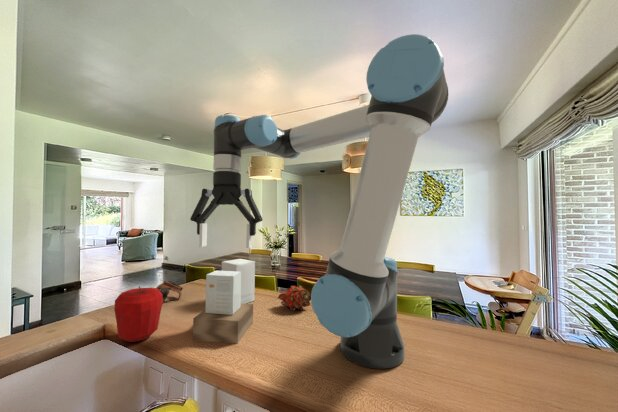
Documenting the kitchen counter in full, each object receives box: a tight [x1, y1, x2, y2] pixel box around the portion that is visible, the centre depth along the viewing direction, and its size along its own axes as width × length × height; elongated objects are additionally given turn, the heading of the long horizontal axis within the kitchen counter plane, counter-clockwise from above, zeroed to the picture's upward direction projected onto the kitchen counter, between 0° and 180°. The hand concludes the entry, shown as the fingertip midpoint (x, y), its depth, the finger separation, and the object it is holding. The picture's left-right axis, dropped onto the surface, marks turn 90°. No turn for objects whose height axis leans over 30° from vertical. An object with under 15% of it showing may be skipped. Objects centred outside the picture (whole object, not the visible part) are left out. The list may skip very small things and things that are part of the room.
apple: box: [113, 285, 164, 343], centre depth 67 cm, size 10×10×14 cm
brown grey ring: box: [155, 280, 184, 303], centre depth 94 cm, size 12×10×8 cm
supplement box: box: [221, 258, 256, 304], centre depth 95 cm, size 9×9×15 cm
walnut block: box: [192, 303, 254, 345], centre depth 71 cm, size 12×12×6 cm
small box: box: [204, 270, 241, 315], centre depth 72 cm, size 8×6×10 cm
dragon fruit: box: [277, 285, 311, 311], centre depth 89 cm, size 8×8×12 cm
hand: (225, 247), depth 72 cm, fingers open, 13 cm apart
